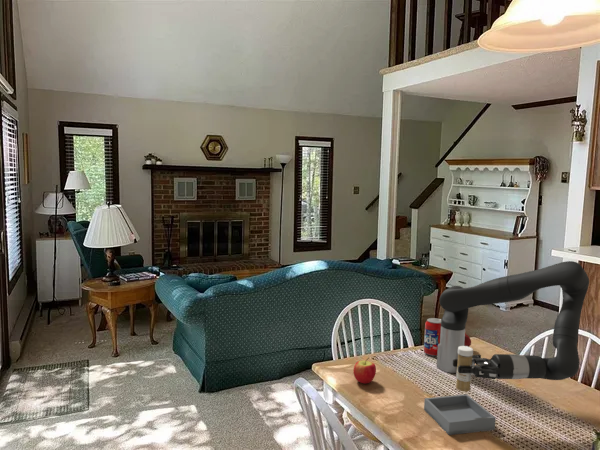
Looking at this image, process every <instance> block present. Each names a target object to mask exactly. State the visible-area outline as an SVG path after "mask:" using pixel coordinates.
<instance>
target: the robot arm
mask: <svg viewBox="0 0 600 450" xmlns="http://www.w3.org/2000/svg"><path fill="white" fill-rule="evenodd" d="M557 286H559V287H560V288H561V292H562V303H561V307H560V311H559V312H558V314H557V316H556V318H555V322H554V326H553V333H552V345H553V347H554V349H556V355H555V356H553V357H541V356H540V355H532V354H531V355H530V354H529V355H528V354H525V355H524V354H523V355H522V354H516V353H515V354H513V353H509V354H507V353H506V354H505V353H504V354H503V353H498V354H497V353H495V354H493V355H491V357H490V358H487V357H486V358H485V357H482V355H481V354H473V356H472V366H458V372H459V373H471V376H474V377H475V378H481V379H489V380H496V379H497V380H523V379H531V380H532V379H542V380H549V381H562V380H566V379H570V378H572V377H573V378H574V377H575V375H577V373H578V372H579V369H580V356H579V351H578V350H579V349H578V342H579V340H578V339H579V329H580V321H581V315H582V309H583V306H584V301H585V299H586V296H587V292H588V290H589V286H590V279H589V276H588V274H587V272H586V271H585V268H584V267H583V266H582V265H581V264H580V263H579V262H577V261H573V260H571V261H570V260H568V261H562V262H559V263H554V264H552V265H549V266H546V267H541V268H539V269H534V270H530V271H527V272H526V271H525V272H521V273H517V274H516V273H515V274H512V275H506V276H501V277H500V276H499V277H498V278H494V279H490V280H487V281H485V282H483V283H482V282H481V283H479V284H477V285H473V286H471V287H470V286H468V287H463V286H460V285H452V286H450V287H448V288H447V289H445V290H443V292H442V293H441V294H440V296H439V305H440V306H441V308H442V309H443V310H444V312H443V315H442V318H440V319H441V334H440V344H438V351H437V356H436V368H437V369H440V370H441V371H443V372H446V373H450V374H451V373H452V374H457V364H458V347H459V346H464V341H465V332H466V325H467V322H468V317H469V316H468V315H469V309H470V308H473V307H478V306H489V305H496V304H503V303H510V302H516V301H520V300H523V299H526V298H527V297H529V296H530V295H532V294H534V293H535V292H537V291H538V290H542V289H545V288H550V287H557Z"/></svg>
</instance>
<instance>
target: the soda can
mask: <svg viewBox="0 0 600 450" xmlns="http://www.w3.org/2000/svg"><path fill="white" fill-rule="evenodd" d="M441 319H442V318H436V317H430V318H427V319H426V321H425V322H424V323H425V325H424V340H423V352H424V353H425V354H426V355H428V356H430V357H437V351H438V344H440V334H441Z"/></svg>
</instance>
